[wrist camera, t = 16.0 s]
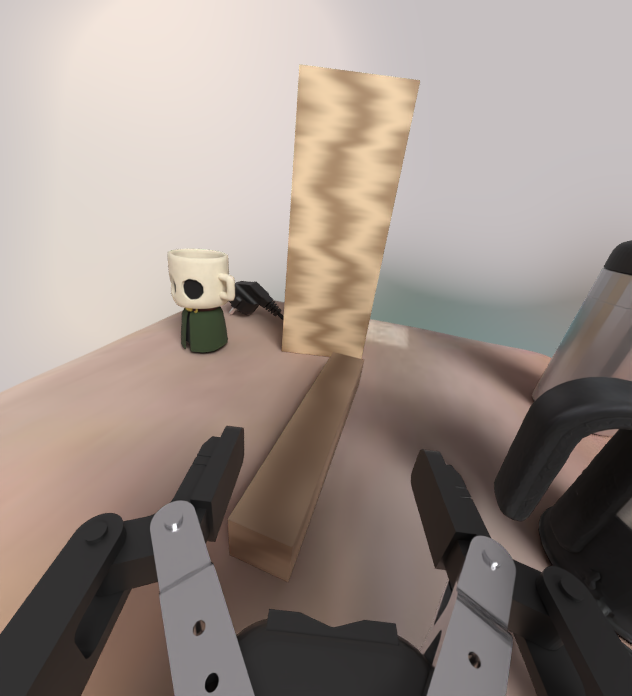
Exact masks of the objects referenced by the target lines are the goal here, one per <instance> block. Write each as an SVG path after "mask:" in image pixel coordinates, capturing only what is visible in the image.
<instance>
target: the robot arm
mask: <svg viewBox="0 0 632 696" xmlns="http://www.w3.org/2000/svg"><path fill="white" fill-rule="evenodd" d="M586 377H612V378H619V379H624V380H629V381H632V241H627V242H623V243H621V244H619V245H618V246H617V247H616V248H615V249H614V250H613V251H612V253H611V254H610V256H609V258H608V260H607V261H606V263H605V265H604V268H603V269H602V270H601V272H600V274H599V276H598V277H597V279H596V281H595V283H594V285H593V286H592V288H591V290H590V291H589V293H588V295H587V297H586V299H585V301H584V302H583V304H582V306H581V308H580V309H579V311H578V313H577V315H576V316H575V318H574V320H573V322H572V323H571V325H570V327H569V329H568V331H567V332H566V334H565V336H564V338H563V340H562V341H561V343H560V345H559V347H558V348H557V350H556V352H555V354H554V355H553V357H552V359H551V361H550V362H549V364H548V366H547V368H546V369H545V371H544V373H543V375H542V376H541V378H540V380H539V382H538V384H537V385H536V387H535V389H534V391H533V393H532V398H533V399H534V401H535V400H536V399H537V398H538V397H540V396H541V395H542V394H543V393H545V392H546V391H547V390H549V389H551V388H553V387H555V386H557V385H559V384H561V383H564V382H567V381H571V380H575V379H580V378H586ZM618 430H619V429H612V430H605V431H600V432H596V433H593V434H598V435H603V436H614V434H615V433H616V432H617V431H618ZM243 458H244V428H242V427H233V426H226V427H225V429H224V431H223V433H222V435H221V437H214V436H212V437H211V438H210V439H209V440H208V441H206V442H205V443H204V444H203V445H202V447H201V449H200V451H199V453H198V454H197V457H196V458H195V460H194V462H193V464H192V465H191V467H190V469H189V471H188V473H187V474H186V476H185V478H184V480H183V482H182V484H181V485H180V487H179V489H178V491H177V493H176V495H175V496H174V498H173V500H172V501H171V502H170V503H169V504H167V505H165V506H163V507H162V508H161V509H160V510H159V511H158V512H157V513H156V514H153V515H151V516H147V517H143V518H138V519H133V520H128V521H123V520H122V518H121V517H120V516H119V515H117V514H114V513H105V514H101V515H98V516H95V517H93V518H91V519H90V520H88V521H87V522H85V523H84V524H83V525H81V526H80V527H79V528H78V529H77V530H76V532H75V533H74V534H73V536H72V537H71V538H70V540H69V541H68V542H67V544H66V545H65V546H64V548H63V549H62V551H61V552H60V553H59V555H58V556H57V557H56V559H55V560H54V562H53V563H52V564H51V566H50V567H49V568H48V570H47V571H46V572H45V574H44V575H43V577H42V578H41V579H40V581H39V582H38V583H37V585H36V586H35V587H34V589H33V590H32V592H31V593H30V594H29V596H28V597H27V598H26V600H25V601H24V603H23V604H22V605H21V607H20V608H19V609H18V611H17V612H16V613H15V615H14V616H13V618H12V619H11V620H10V622H9V623H8V624H7V626H6V627H5V628H4V630H3V631H2V633H1V634H0V696H81V694H82V692H83V690H84V688H85V686H86V684H87V682H88V680H89V678H90V675H91V673H92V671H93V669H94V667H95V665H96V663H97V661H98V659H99V656H100V654H101V652H102V650H103V648H104V646H105V644H106V642H107V640H108V637H109V635H110V633H111V631H112V629H113V627H114V625H115V623H116V621H117V619H118V616H119V614H120V612H121V610H122V608H123V606H124V604H125V602H126V600H127V597H128V595H129V593H130V591H131V589H132V588H136V587H140V586H144V585H147V584H151V583H155V582H158V583H159V590H160V593H159V597H160V605H161V611H162V618H163V624H164V631H165V637H166V644H167V650H168V656H169V663H170V669H171V676H172V682H173V689H174V695H175V696H506V690H507V683H508V675H509V668H510V661H511V653H512V645H513V639H512V635H511V634H510V633H509V632H508V630H510V631H512V632H513V633H514V636H515V639H516V641H517V644H518V646H519V649H520V652H521V654H522V657H523V659H524V662H525V664H526V667H527V670H528V672H529V675H530V677H531V680H532V683H533V685H534V688H535V690H536V693H537V696H632V658H631V656H630V654H629V653H628V651H627V650H626V648H625V646H624V645H623V643H622V642H621V640H620V639H619V637H618V635H617V634H616V632H615V631H614V629H613V627H612V626H611V624H610V623H609V621H608V619H607V618H606V616H605V615H604V613H603V612H602V610H601V608H600V607H599V605H598V604H597V602H596V600H595V599H594V597H593V596H592V594H591V593H590V591H589V590H588V589H587V588H586V586H585V585H584V584H583V583H582V582H581V581H580V580H579V579H578V578H576V577H575V576H574V575H572V574H571V573H569V572H568V571H566V570H564V569H562V568H560V567H556V566H549V567H546V568H545V569H544V571H543V572H540V571H538V570H536V569H533V568H531V567H529V566H526V565H524V564H522V563H519V562H517V561H515V560H513V559H512V557H511V556H510V554H509V553H508V552H507V550H506V549H505V548H504V547H503V546H502V545H500V544H499V543H498V542H496V541H495V540H493V539H491V537H490V535H489V533H488V531H487V529H486V527H485V525H484V523H483V521H482V518H481V516H480V514H479V512H478V510H477V508H476V506H475V504H474V502H473V500H472V499H471V496H470V494H469V492H468V490H467V489H466V485H465V483H464V481H463V479H462V477H461V475H460V474H459V473H458V472H457V471H456V470H455V469H454V468H453V467H452V465H446V464H445V462H444V459H443V457H442V455H441V453H440V452H439V451H431V450H423V449H422V450H420V452H419V454H418V457H417V460H416V462H415V465H414V468H413V470H412V474H411V486H412V490H413V493H414V497H415V500H416V504H417V507H418V510H419V514H420V517H421V521H422V524H423V528H424V531H425V535H426V538H427V542H428V545H429V549H430V552H431V556H432V559H433V563H434V566H435V569H442V570H446V572H447V575H448V578H449V579H448V580H447V582H446V585H445V588H444V591H443V594H442V596H441V599H440V602H439V605H438V608H437V611H436V613H435V616H434V619H433V622H432V625H431V628H430V630H429V633H428V635H427V637H426V639H425V641H424V643H423V646H422V648H421V650H420V651H419V650H418V649H417V648H415V647H414V646H413V645H412V644H411V643H409V642H408V641H406V640H405V639H403V638H402V637H400V636H398V635H397V629H396V624H395V623H386V622H378V621H369V620H363V621H358V622H354V623H350V624H346V625H342V626H338V627H330V626H328V625H326V624H323V623H321V622H319V621H317V620H315V619H313V618H311V617H309V616H307V615H305V614H302V613H300V612H292V611H283V610H275V609H269V614H268V619H265V620H262V621H259V622H256V623H254V624H252V625H250V626H248V627H247V628H245V629H244V630H242V631H241V632H240V633H239V634H237V635H236V634H235V631H234V628H233V624H232V621H231V618H230V615H229V611H228V608H227V605H226V602H225V599H224V595H223V592H222V589H221V586H220V582H219V579H218V576H217V573H216V570H215V567H214V564H213V563H212V562H211V560H210V557H209V554H208V551H207V547H206V542H207V541H212V542H215V540H216V538H217V535H218V532H219V529H220V526H221V523H222V521H223V518H224V515H225V512H226V509H227V506H228V503H229V501H230V498H231V495H232V492H233V489H234V486H235V484H236V481H237V478H238V475H239V472H240V469H241V466H242V463H243Z"/></svg>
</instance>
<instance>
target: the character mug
mask: <svg viewBox="0 0 632 696" xmlns="http://www.w3.org/2000/svg"><path fill="white" fill-rule="evenodd" d="M168 268H169V276H170V281H171V283H172V284H171V294H172V297H173V299H174V301H175V303H176V304H177V305H178V306H181V307H185V308H184V310H183V312H182V326H181V344H182V346H183V347H184V348H185V349H186V341H187V342H188V343H190V346H191V351H193V352H210V351H215V350H217V349H218V348H220V347H222V346H224V345H225V344H226V343H227V341H228V337H227V330H226V324H225V319H224V314H223V310H222V309H221V307H220V306H222V305H224V304H226V303H227V302H228V301H233V300H234V298H235V280H234V277H233V276H231V275H229V264H228V255H227V254H225V253H222V252H219V251H213V250H205V249H177V250H171V251H169V252H168Z"/></svg>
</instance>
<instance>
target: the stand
mask: <svg viewBox="0 0 632 696" xmlns="http://www.w3.org/2000/svg"><path fill="white" fill-rule="evenodd" d="M419 84H420V80H413V79H406V78H398V77H390V76H383V75H375V74H368V73H360V72H353V71H345V70H337V69H329V68H323V67H315V66H308V65H300V66H299V83H298V98H297V113H296V130H295V145H294V161H293V177H292V193H291V211H290V225H289V241H288V257H287V273H286V289H285V305H284V321H283V337H282V351H284V352H293V353H301V354H310V355H319V356H327V357H331V355H332V353H333V352H335V353H339V354H343V355H347V356H351V357H355V358H359V359H361V358H362V353H363V348H364V344H365V339H366V334H367V329H368V325H369V320H370V315H371V311H372V306H373V301H374V296H375V292H376V287H377V282H378V278H379V273H380V268H381V263H382V259H383V254H384V249H385V244H386V240H387V235H388V230H389V226H390V221H391V216H392V211H393V207H394V202H395V197H396V192H397V188H398V183H399V178H400V174H401V169H402V164H403V159H404V155H405V150H406V145H407V140H408V135H409V131H410V126H411V122H412V117H413V112H414V107H415V102H416V98H417V93H418V89H419Z"/></svg>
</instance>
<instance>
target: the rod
mask: <svg viewBox="0 0 632 696" xmlns="http://www.w3.org/2000/svg"><path fill="white" fill-rule="evenodd" d="M363 363H364V360H363V359H359V358H355V357H351V356H347V355H343V354H339V353H335V352H333V353H332V355H331V357H330V358H329V360H328V361H327V363H326V364H325V366H324V368H323V369H322V371H321V372H320V374H319V376H318V377H317V379H316V380H315V382H314V383H313V385H312V387H311V388H310V390H309V391H308V393H307V394H306V396H305V398H304V399H303V401H302V402H301V404H300V406H299V407H298V409H297V410H296V412H295V413H294V415H293V417H292V418H291V420H290V421H289V423H288V425H287V426H286V428H285V429H284V431H283V432H282V434H281V436H280V437H279V439H278V440H277V442H276V444H275V445H274V447H273V448H272V450H271V451H270V453H269V455H268V456H267V458H266V459H265V461H264V463H263V464H262V466H261V467H260V469H259V470H258V472H257V474H256V475H255V477H254V478H253V480H252V482H251V483H250V485H249V486H248V488H247V489H246V491H245V493H244V494H243V496H242V497H241V499H240V500H239V502H238V504H237V505H236V507H235V508H234V510H233V512H232V513H231V515H230V516H229V518H228V535H229V553H230V555H231V556H233V557H235V558H238V559H240V560H242V561H244V562H246V563H248V564H250V565H252V566H255V567H257V568H259V569H261V570H263V571H265V572H267V573H269V574H272V575H274V576H276V577H278V578H280V579H282V580H284V581H286V582H289V579H290V576H291V573H292V570H293V568H294V565H295V562H296V559H297V556H298V554H299V551H300V548H301V545H302V542H303V540H304V537H305V534H306V531H307V528H308V526H309V523H310V520H311V517H312V514H313V512H314V509H315V506H316V503H317V500H318V498H319V495H320V492H321V489H322V486H323V483H324V481H325V478H326V475H327V472H328V469H329V467H330V464H331V461H332V458H333V455H334V453H335V450H336V447H337V444H338V441H339V439H340V436H341V433H342V430H343V427H344V425H345V422H346V419H347V416H348V413H349V411H350V408H351V405H352V402H353V399H354V397H355V394H356V391H357V388H358V385H359V382H360V377H361V372H362V368H363Z"/></svg>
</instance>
